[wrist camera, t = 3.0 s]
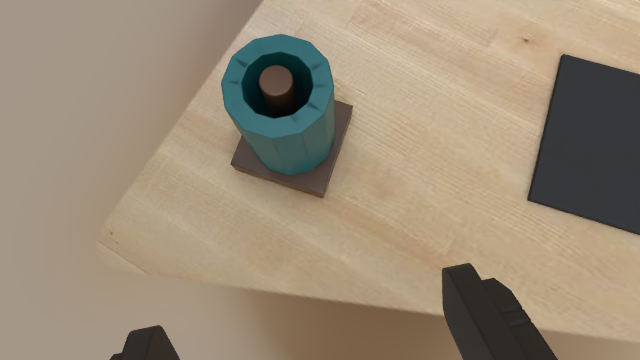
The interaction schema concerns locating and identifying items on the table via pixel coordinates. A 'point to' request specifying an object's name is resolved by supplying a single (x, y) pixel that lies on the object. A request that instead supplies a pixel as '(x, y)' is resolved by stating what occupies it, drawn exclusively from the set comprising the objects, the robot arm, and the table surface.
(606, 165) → the mat
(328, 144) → the teal hollow cylinder
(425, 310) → the table surface
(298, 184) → the ring toss
